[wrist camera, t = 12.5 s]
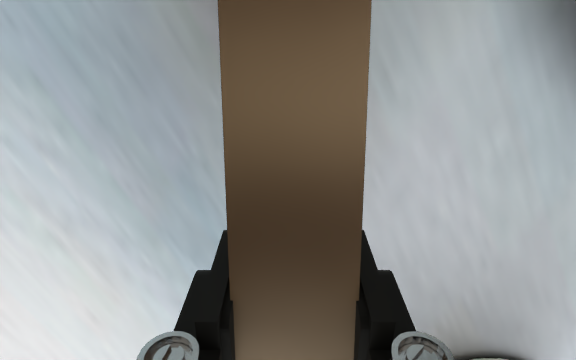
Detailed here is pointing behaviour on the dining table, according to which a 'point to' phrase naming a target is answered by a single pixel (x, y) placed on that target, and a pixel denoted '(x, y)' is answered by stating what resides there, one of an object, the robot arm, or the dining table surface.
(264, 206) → the brown wooden brick
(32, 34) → the dining table surface
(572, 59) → the dining table surface
